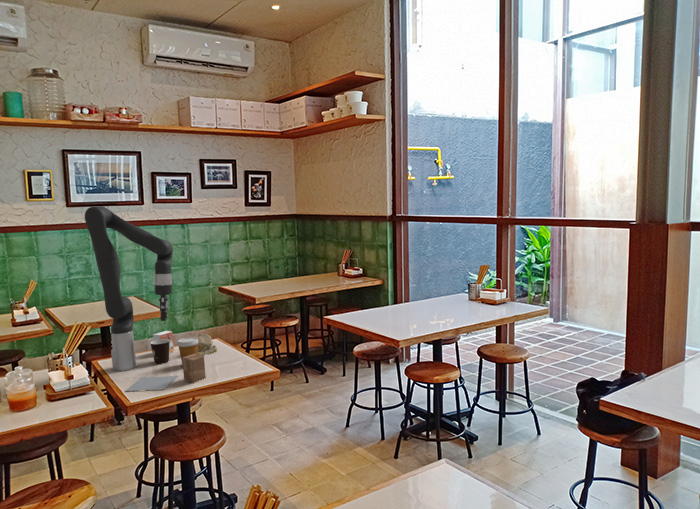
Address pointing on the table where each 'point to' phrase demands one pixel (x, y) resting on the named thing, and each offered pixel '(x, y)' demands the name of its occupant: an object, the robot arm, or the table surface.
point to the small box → (165, 335)
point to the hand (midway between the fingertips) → (163, 319)
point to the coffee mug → (160, 350)
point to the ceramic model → (205, 344)
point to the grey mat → (152, 383)
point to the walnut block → (193, 368)
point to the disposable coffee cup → (188, 346)
